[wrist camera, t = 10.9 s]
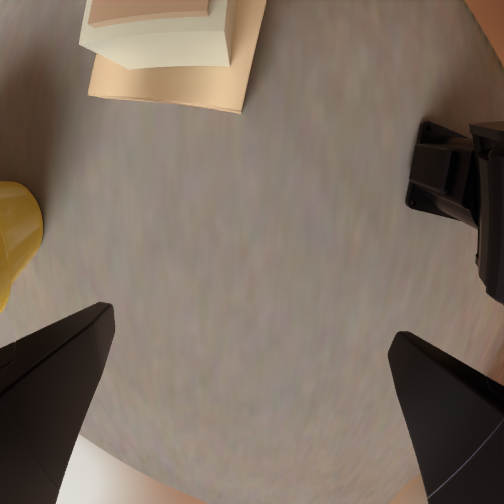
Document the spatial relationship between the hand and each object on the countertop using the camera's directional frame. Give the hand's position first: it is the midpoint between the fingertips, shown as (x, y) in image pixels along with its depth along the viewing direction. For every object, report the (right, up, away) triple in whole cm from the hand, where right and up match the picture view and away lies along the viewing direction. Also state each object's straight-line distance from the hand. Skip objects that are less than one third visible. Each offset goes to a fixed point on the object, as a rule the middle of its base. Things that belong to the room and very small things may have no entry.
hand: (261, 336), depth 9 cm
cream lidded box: (-4, +15, +4) cm, 16 cm away
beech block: (-5, +16, +8) cm, 18 cm away
